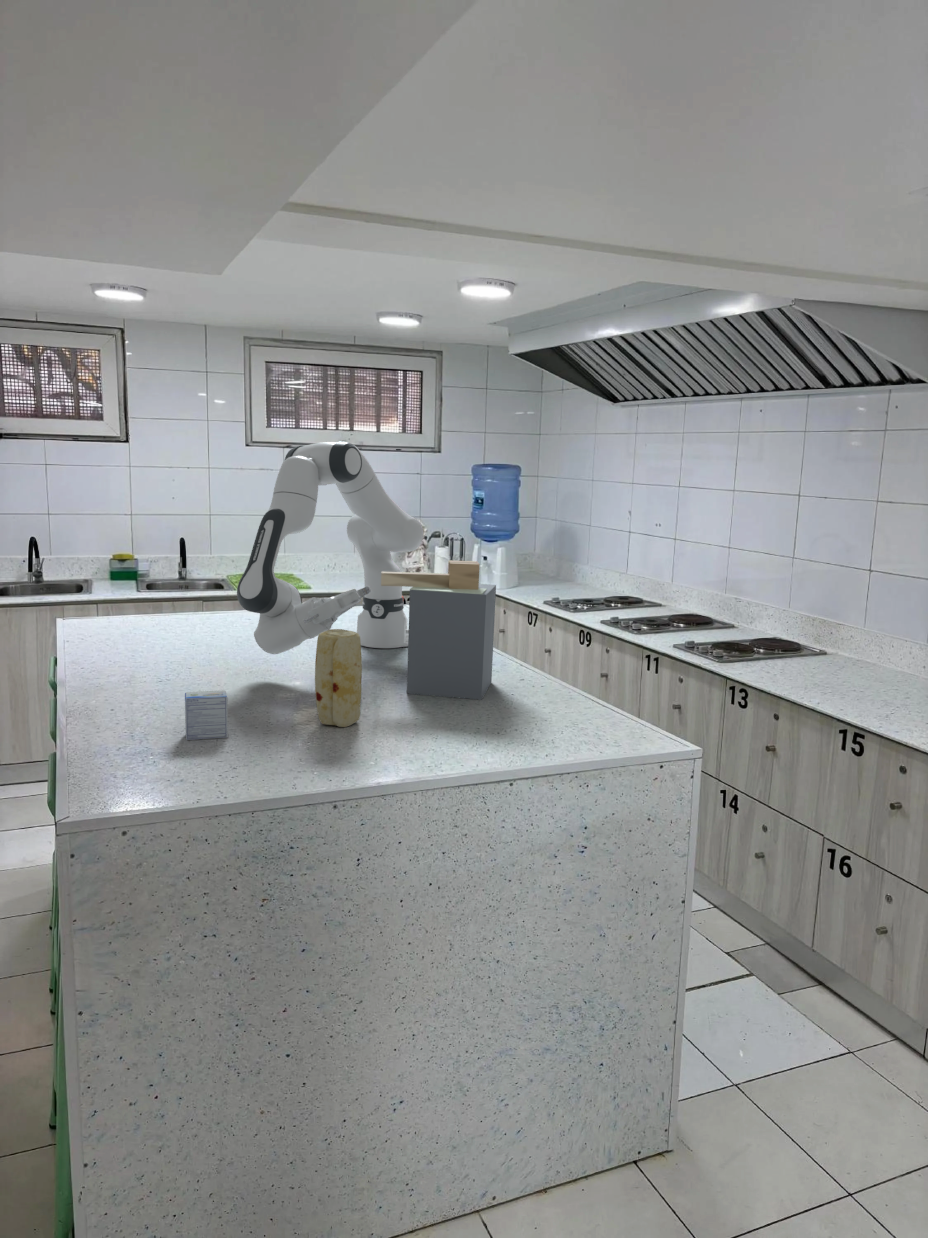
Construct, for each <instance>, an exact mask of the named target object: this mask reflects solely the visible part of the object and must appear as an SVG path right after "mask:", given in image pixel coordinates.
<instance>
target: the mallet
mask: <svg viewBox="0 0 928 1238" xmlns="http://www.w3.org/2000/svg"><path fill="white" fill-rule="evenodd" d="M447 561H448V563H447V564H448V565H447V572H446V573H442V572H440V573H439V572H437V573H436V572H410V571H409V572H408V571H402V572H381V586H402V587H410V588H412V587H440V588H449V589H477V590H478V589H479V584H480V563H479V562H478V560H477V561H475V560H447Z"/></svg>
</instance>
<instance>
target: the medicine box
mask: <svg viewBox="0 0 928 1238" xmlns="http://www.w3.org/2000/svg"><path fill="white" fill-rule="evenodd" d="M228 709H229V708H228V693H227V691H226V690H224V689H223V690H222V689H221V690H203V691H186V692H185V693H184V719H185V720H184V721H185V740H186V741H194V740H196V741H197V740H211V739H225V738H227V739H228V738H229V723H228V717H229V715H228V714H229V713H228Z"/></svg>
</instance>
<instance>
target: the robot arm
mask: <svg viewBox="0 0 928 1238" xmlns="http://www.w3.org/2000/svg"><path fill="white" fill-rule="evenodd" d="M334 484H335V485H336V487H337V489H338V491H339V493H340V494H341V496H342V498H343V500H344V501H345V503H346V505H347V506H348V507H347V508H349V510H350V511H351V512H352V513H353V515H352V516H351V517H350V519H349V520H348V522H347V525H346V534H347V538H348V540H349V541H350V542H351V544H352V545H354V547H355V548H356V550H357V552H358V554H359V557H360V559H361V563H362V566H363V567H362V568H363V573H364V577H363V578H364V586H363V588H360V589H355V588H354V589H353V588H352V589H349V590H347V591H344V592H342V593H339V594H336V595H333V596H330V597H320V598H319V597H313V596H312V597H311V598H309V599H307V600H305V601H304V602H302V597H301V593H300V592H299V590H298V588H297V587H296V586H295V585H293V584H292V583H290V582H288V581H286V580H284V579H280V578H278V577H276V575H275V566H276V562H277V558H278V555H279V552H280V549H281V548H280V547H281V544H282V542H283V540H284V539H285V538H286V537H287V536H289V535H295V534H300V533H301V532H305V530H307V529H308V528H309V527H311V525H312V523H313V520H314V517H315V514H316V509H317V504H318V497H319V496H318V495H319V486H327V485H334ZM424 534H425V533H424V528H423V525H422V523H421V521H420V520H419V519H417V518H415V517H413V516H412V515H410V514H409V513H408V512H406V511H405V510H404V509H402V508H401V507H400V506H399V504H397V502H395V501H394V500H393V499H392V497H391V496H390V495H389V494H388V493H387V492H386V490H385V489H384V487H383V485H382V484H381V482H380V480H379V478H378V476H377V475H376V473H375V471H374V469H373V467H372V465H371V464H370V462H369V461H368V459H367V458H366V456H365V455H364V454H363V453H362V451H361V450H360V449H359V448H358V447H357V446H356V445H355V444H352V443H350V442H346V441H341V440H340V441H336V442H335V441H324V442H323V441H320V442H316V443H311V444H306V445H298V446H295V447H292V448H291V449H290V450H288V452H287V453H286V455H285V458H284V460H283V462H282V464H281V466H280V468H279V472H278V473H277V477H276V480H275V484H274V488H273V493H272V498H271V502H270V506H269V509H268V510H267V511H266V512H265V513H264V515H263V516H262V518H261V521H260V523H259V526H258V529H257V533H256V535H255V537H254V538H255V539H254V543H253V545H252V549H251V552H250V554H249V559H248V563H247V565H246V568H245V570H244V572H243V573H242V576H241V578H240V580H239V581H238V584H237V587H236V597H237V601H238V603H239V605H240V606H241V607H242V609H244V610H245V611H247V612H250V613H256V614H259V619H258V624H257V627H256V628H255V630H254V632H253V637H254V639H255V642H256V644H257V645H258V646H259V648H261V649H262V650H263V651H264V652H265V653H267V654H270V655H279V654H281V653H284V652H287V651H290V650H291V649H294V648H296V647H298V646H300V645H301V644H302V643H303V642H304V641H307V640H310V639H314V638H315V637H318V635H319V634H320V633H322V632H325V631H327V630H330V629H332V626H333V625H334V624H335V622H336V621H337V620H338V618H339V617H340V616H342V615H343V614H345V613H346V612H348V611H350V610H351V609H353V607H355V606H356V605H358V604H360V603H361V602H362V609H363V610H362V611H361V612H359V614H358V615H357V622H356V633H358V634H359V636H360V641H361V647H367V648H375V649H396V648H402V647H403V648H405V647H406V648H408V634H409V628H408V625H409V619H408V618H407V615H406V613H405V611H404V607H405V606H404V605H405V603H404V600H405V599H404V596H403V586H381V572H403V571H402V570H401V568H400V567H399V566H398V564H396V563H395V561H394V560H393V558H392V555H391V552H392V553H399V554H400V553H409V552H414V551H416V550H417V549H419V547H420V546H421V545H422V542H423V540H424Z"/></svg>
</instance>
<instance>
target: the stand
mask: <svg viewBox="0 0 928 1238" xmlns="http://www.w3.org/2000/svg"><path fill="white" fill-rule="evenodd" d="M496 592H497V584H491V583H490V584H487V583H479V589H478V590H477V589H449V588H440V587H410V588H409V602H408V604H409V608H408V610H409V611H408V629H409V634H408V646H407V667H406V668H407V671H406V673H407V674H406V675H407V676H406V694H407V693H410V694H409V695H419V694H420V695H421V696H430V695H435V696H434V697H442V696H444V697H443V698H454V697H460V698H459V699H465V698H470V699H469V700H477V699H478V700H479V701H481V700H483V698H484V696H485V695H486V693H487V691H488V689H489V688H488V687H490V686H491V685H492V677H493V659H494V657H493V656H494V639H495V638H494V637H495V636H494V635H495V620H496V619H495V615H496ZM484 694H485V695H484ZM420 695H419V696H420Z"/></svg>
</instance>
